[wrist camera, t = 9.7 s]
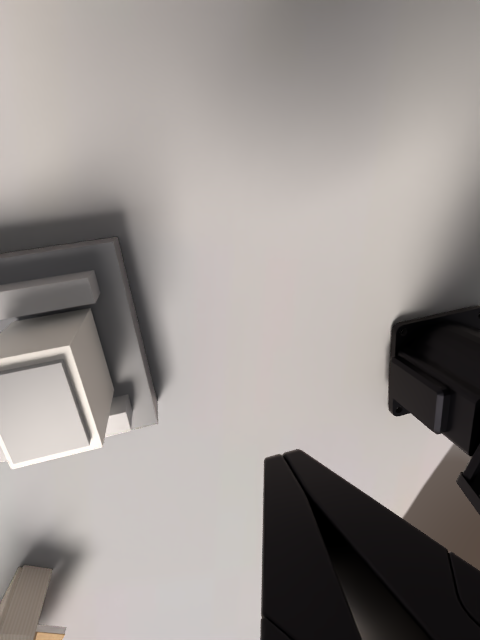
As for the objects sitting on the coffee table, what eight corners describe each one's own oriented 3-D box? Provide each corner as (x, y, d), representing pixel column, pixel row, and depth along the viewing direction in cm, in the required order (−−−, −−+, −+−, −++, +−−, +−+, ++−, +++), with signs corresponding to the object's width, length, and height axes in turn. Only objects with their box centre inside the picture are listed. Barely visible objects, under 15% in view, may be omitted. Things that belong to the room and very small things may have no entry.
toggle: (90, 307, 15) (67, 349, 11) (114, 389, 16) (101, 452, 12) (13, 321, 14) (-41, 370, 10) (44, 405, 16) (8, 475, 12)
